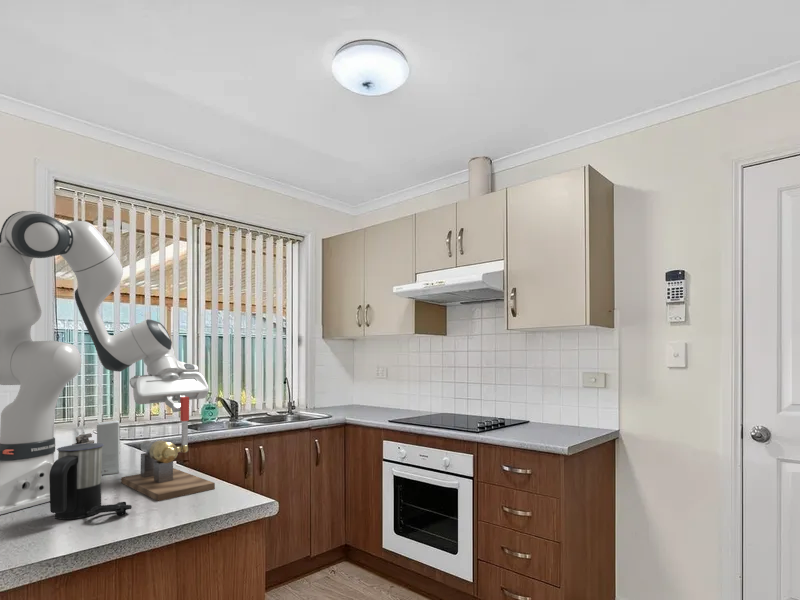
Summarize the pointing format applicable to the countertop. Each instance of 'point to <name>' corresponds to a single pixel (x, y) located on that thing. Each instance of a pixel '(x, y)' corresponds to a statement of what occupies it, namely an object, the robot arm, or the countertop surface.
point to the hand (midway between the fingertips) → (179, 410)
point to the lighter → (84, 439)
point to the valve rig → (164, 474)
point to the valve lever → (184, 422)
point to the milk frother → (79, 483)
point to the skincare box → (109, 446)
